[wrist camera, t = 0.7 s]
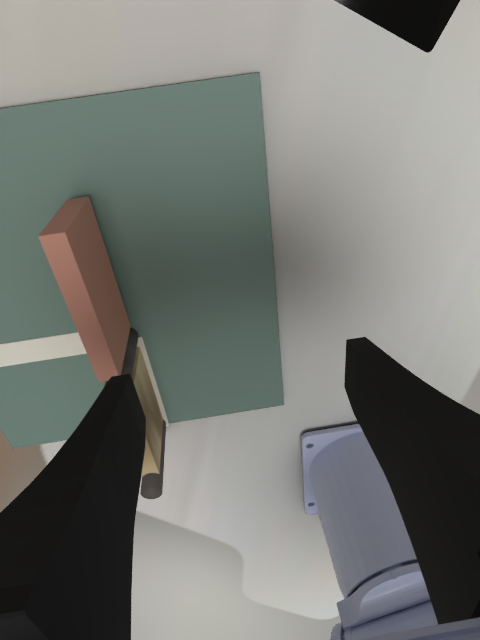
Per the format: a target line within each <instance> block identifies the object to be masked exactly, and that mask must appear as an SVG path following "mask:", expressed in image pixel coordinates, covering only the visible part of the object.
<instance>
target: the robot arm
mask: <svg viewBox="0 0 480 640" xmlns="http://www.w3.org/2000/svg"><path fill="white" fill-rule="evenodd" d="M345 389H346V392H347V395H348V398H349V401H350V404H351V407H352V409H353V412H354V415H355V417H356V419H357V421H358V423H359V424H354V425H348V426H342V427H336V428H330V429H324V430H318V431H311V432H307V433H304V434H303V435H302V437H301V446H302V469H303V492H304V510H305V513H306V514H308V515H313V514H319V517H320V520H321V524H322V527H323V531H324V535H325V538H326V542H327V545H328V549H329V552H330V556H331V559H332V563H333V567H334V570H335V574H336V577H337V581H338V584H339V587H340V590H341V592H342V594H343V596H344V600H342V601H339V602H337V607H338V611H339V615H340V619H341V622H342V623H338V624H336V625H335V626H334V627H333V629H332V632H331V639H330V640H480V415H479V414H478V413H476V412H474V411H472V410H470V409H468V408H466V407H465V406H463V405H461V404H459V403H458V402H456V401H454V400H452V399H451V398H449V397H447V396H446V395H444V394H442V393H441V392H439V391H438V390H436V389H435V388H433V387H432V386H430V385H428V384H427V383H425V382H424V381H423V380H421V379H420V378H418V377H417V376H415V375H414V374H413V373H411V372H410V371H408V370H407V369H406V368H404V367H403V366H402V365H400V364H399V363H398V362H396V361H395V360H394V359H393V358H391V357H390V356H389V355H387V354H386V353H385V352H384V351H382V350H381V349H380V348H379V347H377V346H376V345H375V344H374V343H372V342H371V341H370V340H368V339H367V338H366V337H362V338H355V339H349V340H347V342H346V364H345ZM145 441H146V417H145V414H144V411H143V408H142V405H141V403H140V400H139V397H138V394H137V391H136V388H135V385H134V383H133V380H132V377H131V374H125V375H118V376H112V377H111V378H110V379H109V380H108V382H107V383H106V385H105V386H104V388H103V389H102V391H101V393H100V394H99V396H98V397H97V399H96V400H95V402H94V403H93V405H92V406H91V408H90V409H89V411H88V412H87V414H86V415H85V416H84V418H83V419H82V421H81V422H80V424H79V425H78V426H77V428H76V429H75V431H74V432H73V433H72V435H71V436H70V437H69V439H68V440H67V441H66V442H65V444H64V445H63V446H62V448H61V449H60V450H59V451H58V453H57V454H56V455H55V456H54V458H53V459H52V460H51V461H50V462H49V464H48V465H47V466H46V467H45V468H44V469H43V471H42V472H41V473H40V474H39V475H38V476H37V477H36V478H35V479H34V480H33V481H32V482H31V484H30V485H29V486H28V487H27V488H25V489H24V491H22V492H21V493H20V494H19V495H18V496H17V497H16V498H15V499H14V500H13V501H12V502H11V503H10V504H9V505H8V506H7V507H6V508H5V509H4V510H3V511H2V512H1V513H0V640H131V586H132V556H133V537H134V523H135V514H136V507H137V501H138V494H139V487H140V481H141V474H142V467H143V460H144V453H145Z"/></svg>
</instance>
